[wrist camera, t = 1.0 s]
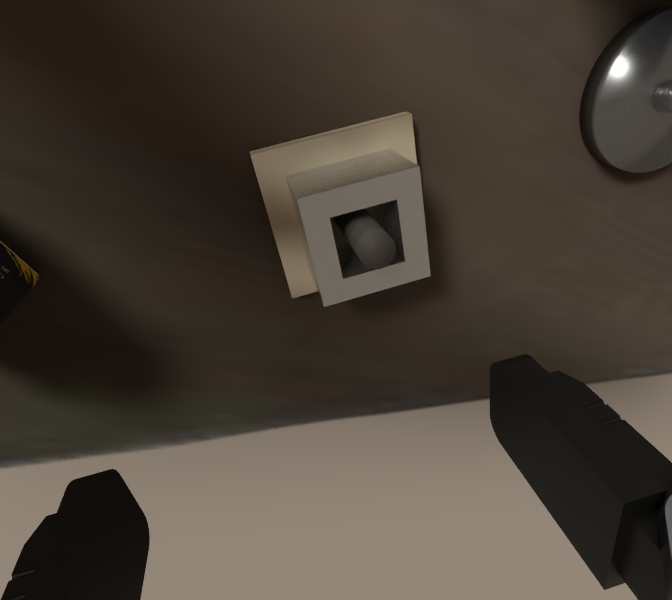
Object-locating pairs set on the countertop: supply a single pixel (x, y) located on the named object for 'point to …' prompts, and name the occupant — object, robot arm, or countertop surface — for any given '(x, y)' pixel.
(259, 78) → the countertop surface
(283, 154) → the stand
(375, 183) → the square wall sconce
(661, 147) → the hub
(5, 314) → the medicine bottle
